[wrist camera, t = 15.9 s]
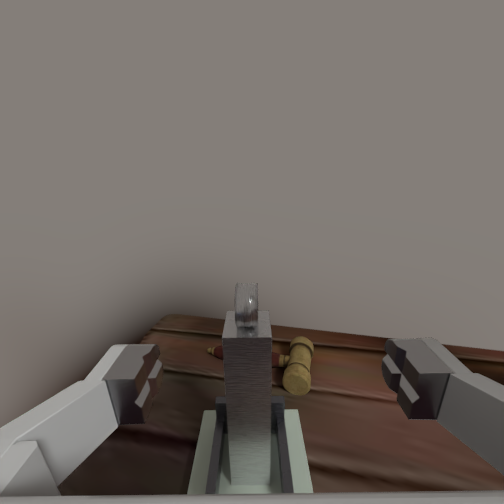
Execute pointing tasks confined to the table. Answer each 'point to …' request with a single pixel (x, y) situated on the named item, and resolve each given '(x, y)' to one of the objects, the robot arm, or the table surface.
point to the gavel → (289, 364)
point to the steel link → (248, 387)
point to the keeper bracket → (281, 454)
